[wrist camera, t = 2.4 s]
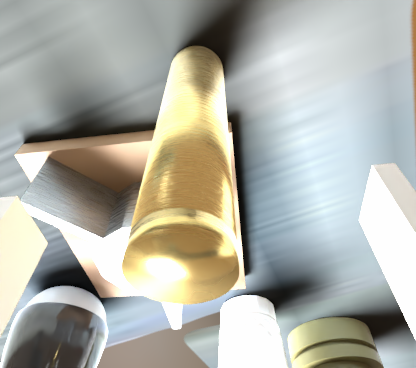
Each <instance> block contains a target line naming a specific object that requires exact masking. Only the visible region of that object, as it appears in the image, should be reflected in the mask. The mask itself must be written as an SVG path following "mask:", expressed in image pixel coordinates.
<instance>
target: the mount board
mask: <svg viewBox="0 0 416 368" xmlns="http://www.w3.org/2000/svg"><path fill="white" fill-rule="evenodd" d="M154 132H155V130H151V131H141V132H132V133H122V134H113V135H103V136H94V137H84V138H75V139H66V140H56V141H47V142H37V143H28V144H23V145H22V146H21V147H20V148H19V150H18V151H17V152H16V153H15V157H16V158H17V160H18V162H19V163H20V165H21V167H22V168H23V170H24V172H25V173H26V175H27V176H28V178H29V180H30V181H31V182H32V181H33V179H34V178H35V176H36V174H37V173H38V171H39V170H40V168H41V167H42V165H43V164H44V162H45V161H46V159H47V158H48V156H49V157H51V158H53V159H54V160H56V161H58V162H60V163H62V164H64V165H66V166H68V167H70V168H72V169H74V170H76V171H78V172H79V173H81V174H83V175H85V176H87V177H89V178H91V179H93V180H95V181H97V182H99V183H101V184H103V185H104V186H106V187H108V188H110V189H112V190H114V191H116V192H118V193H119V192H120V191H122V190H123V189H125V188H127V187H128V186H130V185H131V184H133V183H134V182H142V180H143V176H144V172H145V168H146V164H147V160H148V156H149V152H150V148H151V144H152V140H153V136H154ZM228 134H229V146H230V158H231V171H232V183H233V195H234V208H235V220H236V232H237V245H238V257H239V278H238V280H237V282H236V284H235V285H234V287H233V288H232V289H246V288H245V276H244V265H243V254H242V242H241V231H240V219H239V208H238V197H237V185H236V174H235V162H234V151H233V139H232V128H231V122H228ZM58 228H59V227H58ZM59 229H60V231H61V233H62V234H63V236H64V238H65V239H66V241H67V242H68V244H69V246H70V247H71V249H72V251H73V252H74V254H75V256H76V257H77V259H78V261H79V262H80V264H81V266H82V267H83V269H84V271H85V272H86V274H87V275H88V277H89V279H90V280H91V282H92V284H93V285H94V287H95V289H96V290H97V292H98V294H99V295H100V297H101V298H107V297H123V296H138V295H142V294H139V293H135V292H131V291H126V290H123V289H122V288H120V287H119V286H117V285H115V284H114V283H112V282H110V281H109V280H107V279H106V278H104V277H103V276H102V274H101V272H100V270H99V268H98V267H97V265H96V263H95V261H94V256H95V253H96V250H97V247H98V244H96V243H93V242H91V241H89V240H86V239H84V238H82V237H80V236H77V235H75V234H73V233H70V232H68V231H66V230H64V229H61V228H59ZM232 289H231V290H232Z"/></svg>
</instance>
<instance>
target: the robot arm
mask: <svg viewBox="0 0 416 368" xmlns="http://www.w3.org/2000/svg"><path fill="white" fill-rule="evenodd" d="M359 222H360V224H361V226H362V228H363V230H364V232H365V234H366V236H367V239H368V241H369V243H370V245H371V247H372V249H373V251H374V253H375V255H376V257H377V260H378V262H379V264H380V266H381V268H382V270H383V272H384V274H385V276H386V279H387V281H388V283H389V285H390V287H391V289H392V291H393V293H394V295H395V297H396V300H397V302H398V304H399V306H400V308H401V310H402V312H403V314H404V316H405V319H406V321H407V323H408V325H409V327H410V329H411V331H412V333H413V335H414V337H415V340H416V191H415V190H414V188H413V187H412V186H411V184H410V183H409V182H408V180H407V179H406V178H405V176H404V175H403V173H402V172H401V171H400V169H399V168H398V167H397V165H396V164H395V163H389V164H377V165H372V167H371V171H370V176H369V180H368V184H367V188H366V192H365V197H364V201H363V205H362V209H361V214H360V218H359ZM47 244H48V242H47V241H46V239H45V238H44V236H43V235H42V233H41V231H40V230H39V228H38V227H37V225H36V224H35V222H34V221H33V219H32V218H31V216H30V215H29V213H28V211H27V210H26V208H25V207H24V205H23V204H22V202H21V201H20V199H19V198H18V196H11V197H0V337H1V335H2V333H3V331H4V329H5V327H6V325H7V323H8V321H9V319H10V317H11V315H12V313H13V311H14V309H15V308H16V306H17V304H18V302H19V300H20V298H21V296H22V294H23V292H24V290H25V288H26V286H27V284H28V282H29V280H30V278H31V276H32V274H33V272H34V270H35V268H36V266H37V264H38V262H39V260H40V258H41V256H42V254H43V252H44V250H45V248H46V246H47Z"/></svg>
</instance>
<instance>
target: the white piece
mask: <svg viewBox="0 0 416 368" xmlns="http://www.w3.org/2000/svg"><path fill="white" fill-rule="evenodd" d="M141 184H142V182H134V183H133V184H131V185H130V186H128V187H127V188H125V189H123V190H122V191H120V192H119V193H118V192H116V191H114V190H112V189H110V188H108V187H106V186H104V185H103V184H101V183H99V182H97V181H95V180H93V179H91V178H89V177H87V176H85V175H83V174H81V173H79V172H78V171H76V170H74V169H72V168H70V167H68V166H66V165H64V164H62V163H60V162H58V161H56V160H54V159H53V158H51V157H49V156H48V158H47V159H46V161H45V162H44V164H43V165H42V167H41V168H40V170H39V171H38V173H37V174H36V176H35V178H34V179H33V181H32V182H31V184H30V185H29V187H28V188H27V190H26V191H25V193H24V194H23V196H22V197H21V199H20V201H21V202H22V204H23V205H24V207H25V208H26V210H27V211H28V213H29V215H32V216H34V217H36V218H39V219H41V220H43V221H45V222H48V223H50V224H52V225H54V226H57V227H59V228H61V229H64V230H66V231H68V232H70V233H73V234H75V235H77V236H80V237H82V238H84V239H86V240H89V241H91V242H93V243H96V244H98V247H97V250H96V253H95V256H94V261H95V263H96V265H97V267H98V268H99V270H100V272H101V274H102V276H103V277H104V278H106V279H107V280H109V281H110V282H112V283H114V284H115V285H117V286H119V287H120V288H122V289H123V290H126V291H131V292H135V293H139V292H137V291H136V290H134V289H133V288H132V287H131V286H130V285H129V284H128V283H127V282H126V280H125V278H124V276H123V274H122V269H121V265H122V260H123V256H124V252H125V248H126V244H127V240H128V236H129V232H130V228H131V224H132V220H133V216H134V212H135V208H136V204H137V200H138V196H139V192H140V188H141ZM139 294H140V293H139ZM162 303H163V306H164V309H165V311H166V314H167V316H168V319H169V321H170V324H171V326H172V329H181V319H182V305H183V304H172V303H165V302H162Z"/></svg>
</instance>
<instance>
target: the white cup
mask: <svg viewBox="0 0 416 368" xmlns="http://www.w3.org/2000/svg"><path fill="white" fill-rule="evenodd" d="M218 368H288V365H287V360H286V355H285V350H284V347H283V343H282V338H281V334H280V329H279V327H278V325H277V320H276V316H275V311H274V306H273V304H272V303H271V302H270V301H269V300H268V299H266V298H263V297H260V296H257V295H242V296H238V297H234V298H231V299H230V300H228V301H227V302H225V303H224V304H223V306H222V308H221V328H220V335H219V363H218Z"/></svg>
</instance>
